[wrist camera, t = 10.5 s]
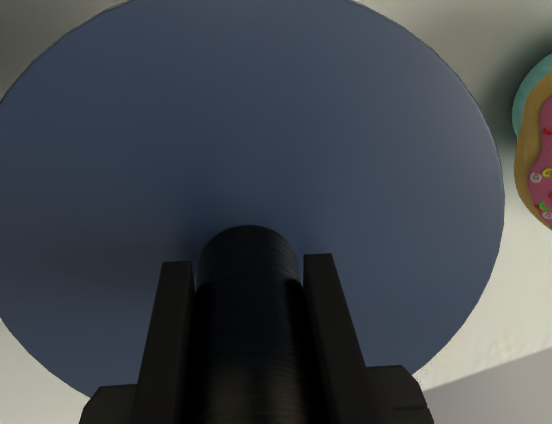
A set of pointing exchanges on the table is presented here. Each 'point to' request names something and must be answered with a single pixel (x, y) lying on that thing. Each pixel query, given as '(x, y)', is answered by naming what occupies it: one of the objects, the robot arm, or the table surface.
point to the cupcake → (535, 141)
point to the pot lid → (241, 195)
